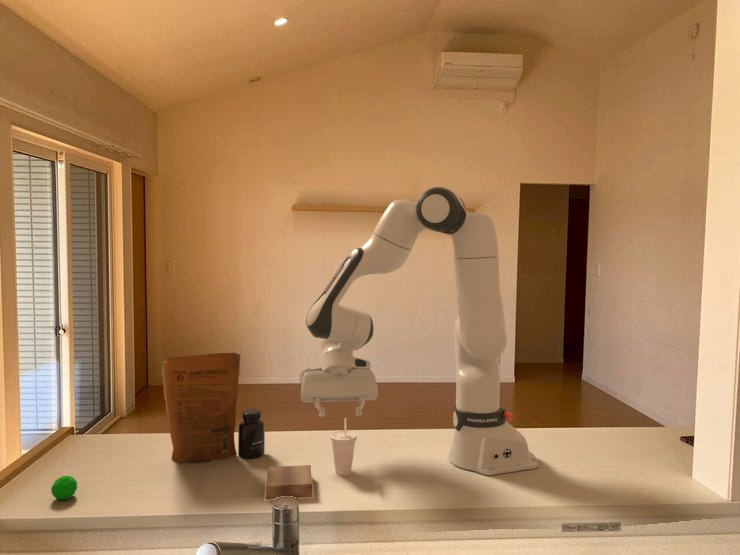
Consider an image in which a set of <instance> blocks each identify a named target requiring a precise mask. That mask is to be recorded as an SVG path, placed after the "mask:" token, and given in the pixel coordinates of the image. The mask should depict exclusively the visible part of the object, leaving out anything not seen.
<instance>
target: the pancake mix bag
mask: <svg viewBox="0 0 740 555" xmlns="http://www.w3.org/2000/svg"><path fill="white" fill-rule="evenodd" d="M240 370H241V354H240V353H236V352H218V353H207V354H204V353H203V354H198V355H186V356H183V355H182V356H170V357H167V358H166V361H162V362H161V377H162V383H163V396H164V397H163V398H164V401H165V409H166V415H167V416H166V417H167V420H168V427H169V434H170V439H171V445H172V454H171V460H173V461H174V462H176V463H182V464H187V463H189V464H190V463H202V462H204V463H205V462H211V461H213V460H215V461H216V460H226V459H230V458H232V457H236V456H237V455H238V452H237V450H236V444H235V442H236V441H235V429H236V419H237V418H236V416H237V412H236V411H237V404H238V399H239V398H238V396H239V383H240V382H239V380H240V374H241V371H240Z"/></svg>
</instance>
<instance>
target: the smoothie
mask: <svg viewBox="0 0 740 555" xmlns="http://www.w3.org/2000/svg"><path fill="white" fill-rule="evenodd" d="M343 420H344V423H343V424H344V426H343V427H344V429H343V430H340V431H339V430H337V431H335V432H332V433H331V434H330V439H329V440H330V442H331V446H332V453H333V463H334V470H335V474H336V475H338V476H348V475H351V474H352V467H353V462H354V461H353V460H354V454H355V452H354V451H355V444H356V441H357V434H356V432H354V431H353V432H352V431H351V430H350V431H349V430H348V426H347V421H348V419H347V418H346V417H345V418H344V419H343ZM347 430H348V431H347Z"/></svg>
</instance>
